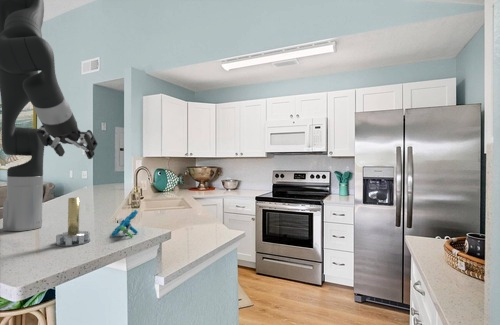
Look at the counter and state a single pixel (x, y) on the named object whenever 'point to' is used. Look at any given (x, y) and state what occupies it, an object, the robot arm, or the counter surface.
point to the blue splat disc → (126, 225)
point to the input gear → (73, 226)
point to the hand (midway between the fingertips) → (76, 155)
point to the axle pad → (73, 244)
